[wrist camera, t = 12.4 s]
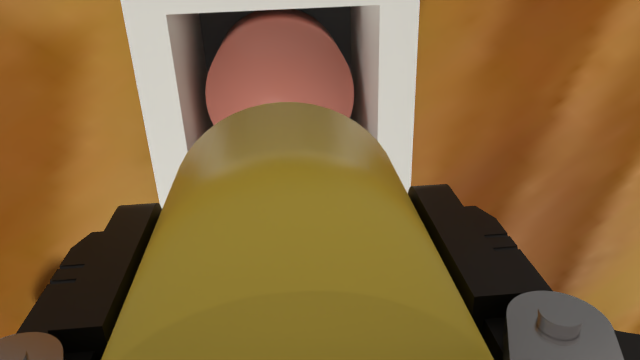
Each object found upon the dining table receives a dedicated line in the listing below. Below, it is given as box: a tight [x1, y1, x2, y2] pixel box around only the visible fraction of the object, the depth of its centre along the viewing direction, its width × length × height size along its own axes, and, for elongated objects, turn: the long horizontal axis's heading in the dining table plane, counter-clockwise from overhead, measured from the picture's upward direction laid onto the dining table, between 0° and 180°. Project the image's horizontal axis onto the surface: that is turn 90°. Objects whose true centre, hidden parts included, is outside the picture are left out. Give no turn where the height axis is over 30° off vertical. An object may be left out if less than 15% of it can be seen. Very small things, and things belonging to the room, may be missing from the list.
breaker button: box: [205, 9, 354, 125], centre depth 21 cm, size 6×6×4 cm
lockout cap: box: [101, 102, 494, 360], centre depth 9 cm, size 5×5×6 cm
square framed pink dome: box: [121, 0, 420, 208], centre depth 22 cm, size 12×15×9 cm
